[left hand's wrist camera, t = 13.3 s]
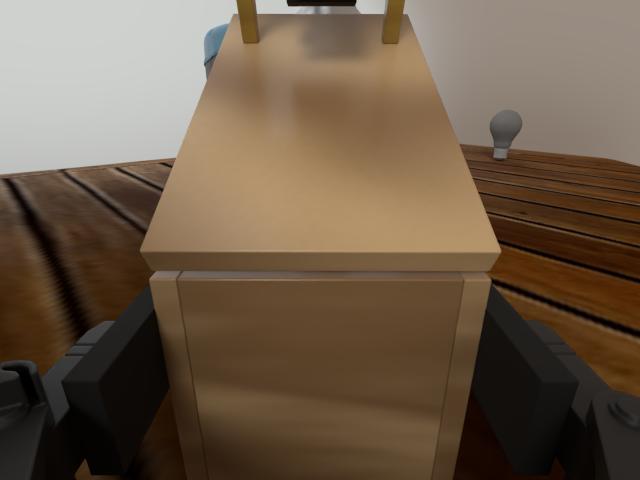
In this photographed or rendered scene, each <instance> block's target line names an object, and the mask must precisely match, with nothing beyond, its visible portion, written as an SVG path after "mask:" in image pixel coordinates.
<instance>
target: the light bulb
mask: <svg viewBox="0 0 640 480" xmlns="http://www.w3.org/2000/svg"><path fill="white" fill-rule="evenodd" d="M521 127H522V119H521V117H520V116H519V114H518V113H517V112H515V111H512V110H504V111H501V112H499V113H497V114H496V115H495V116H494V117H493V119H492V120H491V122H490V131H491V134H492V136H493V139H494V147H495V149H494V152H495V153H494V154H495V155H493V157H494V158H496V159H498V160H503V159H505V158H507V157H506V156H507V155H506V154H508V153H507V152H508V149H509V147H510V146H511V143H512V141H513V139H514V138H515V137H516V136H517V134H518V133H519V132H520V130H521Z"/></svg>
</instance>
